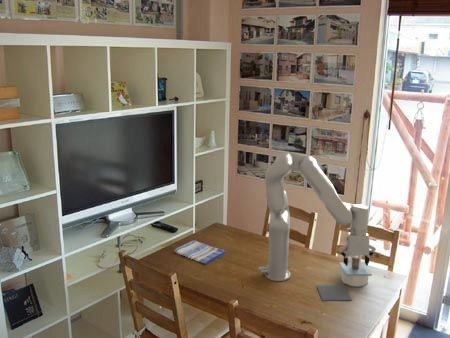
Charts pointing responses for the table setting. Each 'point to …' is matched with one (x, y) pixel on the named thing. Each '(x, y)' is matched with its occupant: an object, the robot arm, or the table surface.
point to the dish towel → (200, 252)
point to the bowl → (354, 280)
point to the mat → (333, 293)
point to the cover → (355, 268)
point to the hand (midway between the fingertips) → (356, 264)
